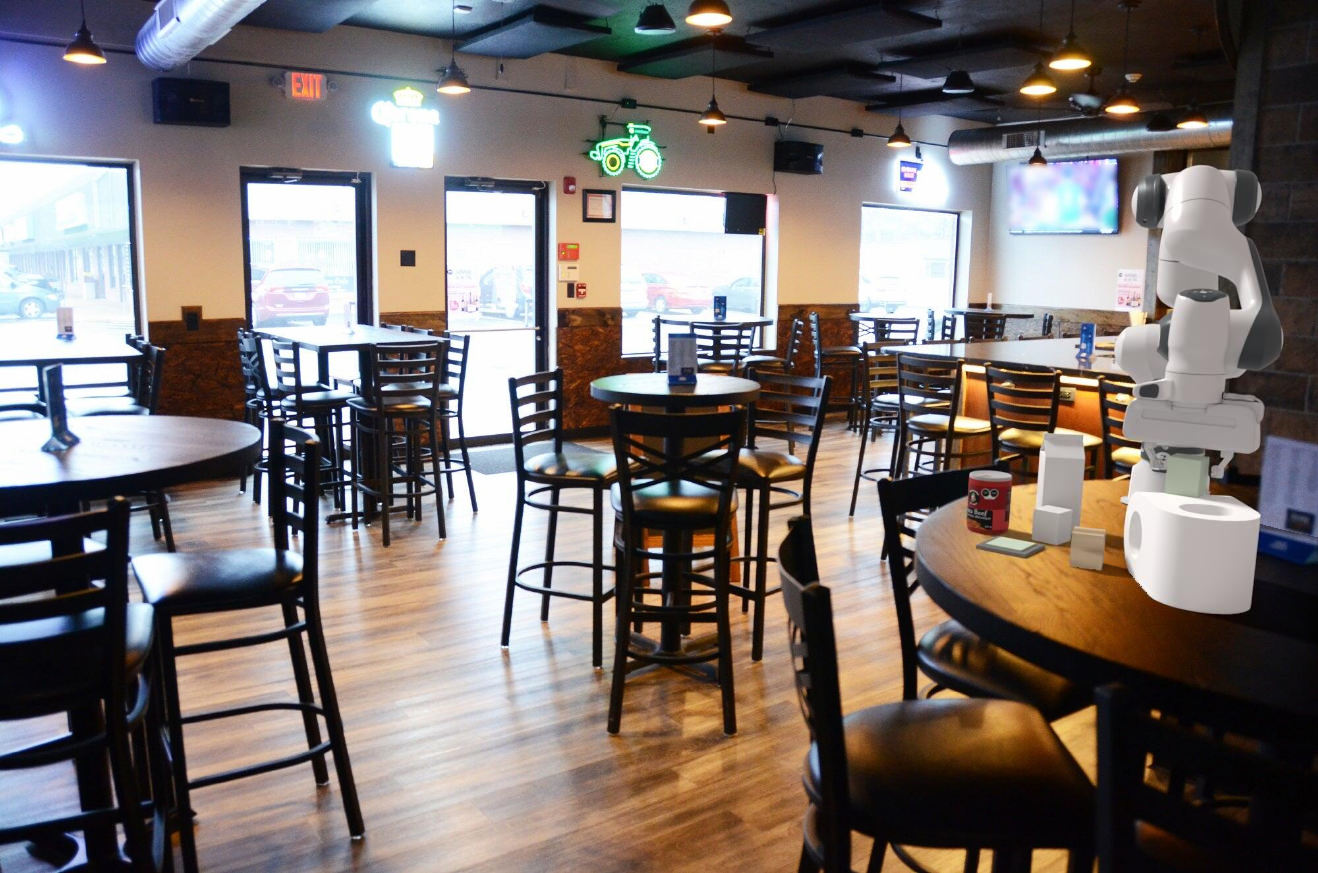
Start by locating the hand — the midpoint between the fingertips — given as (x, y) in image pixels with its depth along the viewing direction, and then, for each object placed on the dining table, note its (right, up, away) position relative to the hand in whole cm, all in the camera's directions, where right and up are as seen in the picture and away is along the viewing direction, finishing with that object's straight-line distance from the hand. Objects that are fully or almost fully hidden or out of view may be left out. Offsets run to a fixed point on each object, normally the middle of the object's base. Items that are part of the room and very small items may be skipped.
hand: (1185, 473), depth 172 cm
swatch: (-23, -14, +18) cm, 32 cm away
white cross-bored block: (-2, -19, -5) cm, 19 cm away
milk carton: (-10, -12, +31) cm, 35 cm away
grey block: (-13, -13, +24) cm, 30 cm away
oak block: (-13, -16, +8) cm, 22 cm away
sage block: (0, -3, -1) cm, 3 cm away
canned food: (-23, -12, +31) cm, 40 cm away
